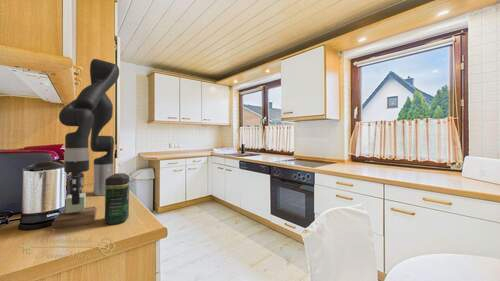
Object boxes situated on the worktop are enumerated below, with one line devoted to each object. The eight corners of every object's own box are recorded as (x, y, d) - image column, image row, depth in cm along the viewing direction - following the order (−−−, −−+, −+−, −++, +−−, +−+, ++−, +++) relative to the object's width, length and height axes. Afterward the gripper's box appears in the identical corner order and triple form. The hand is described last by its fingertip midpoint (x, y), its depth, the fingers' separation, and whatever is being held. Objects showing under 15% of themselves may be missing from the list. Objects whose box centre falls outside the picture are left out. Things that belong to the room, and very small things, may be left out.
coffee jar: (126, 223, 80) (127, 175, 80) (102, 226, 77) (102, 176, 77) (130, 214, 89) (131, 171, 89) (108, 216, 86) (109, 172, 86)
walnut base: (59, 218, 84) (59, 211, 84) (96, 212, 90) (96, 206, 90) (51, 230, 74) (51, 221, 73) (94, 222, 80) (94, 215, 80)
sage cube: (68, 208, 83) (68, 194, 82) (85, 205, 86) (85, 192, 85) (65, 213, 78) (65, 198, 78) (84, 210, 81) (84, 196, 81)
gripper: (68, 158, 85) (67, 198, 86) (60, 161, 73) (60, 209, 74) (90, 157, 89) (90, 196, 90) (87, 160, 77) (86, 205, 78)
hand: (76, 201), depth 82 cm, fingers closed on sage cube, 5 cm apart
